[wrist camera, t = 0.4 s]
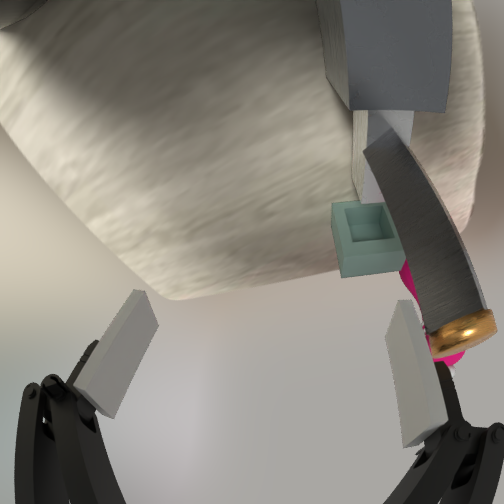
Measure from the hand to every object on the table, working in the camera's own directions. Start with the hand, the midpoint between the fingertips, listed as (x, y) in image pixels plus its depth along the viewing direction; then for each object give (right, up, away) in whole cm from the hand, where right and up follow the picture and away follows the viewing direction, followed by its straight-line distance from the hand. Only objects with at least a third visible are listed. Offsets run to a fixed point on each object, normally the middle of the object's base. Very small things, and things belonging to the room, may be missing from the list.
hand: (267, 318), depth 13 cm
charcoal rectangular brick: (+8, +20, 0) cm, 21 cm away
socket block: (+12, +8, +17) cm, 22 cm away
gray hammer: (+9, +16, +3) cm, 18 cm away
